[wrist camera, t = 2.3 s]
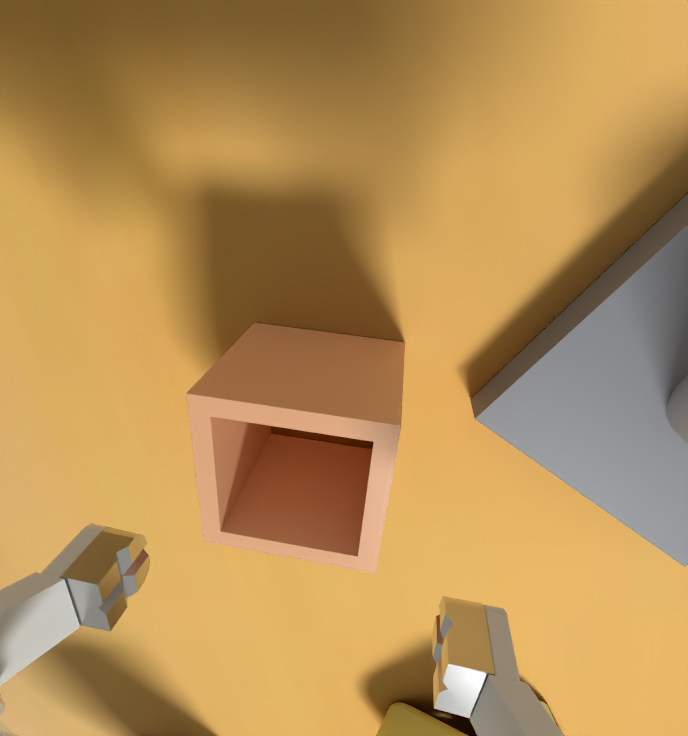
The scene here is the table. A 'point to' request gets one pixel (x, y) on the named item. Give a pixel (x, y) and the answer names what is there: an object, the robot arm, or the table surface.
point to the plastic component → (418, 723)
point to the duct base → (612, 390)
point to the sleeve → (298, 444)
